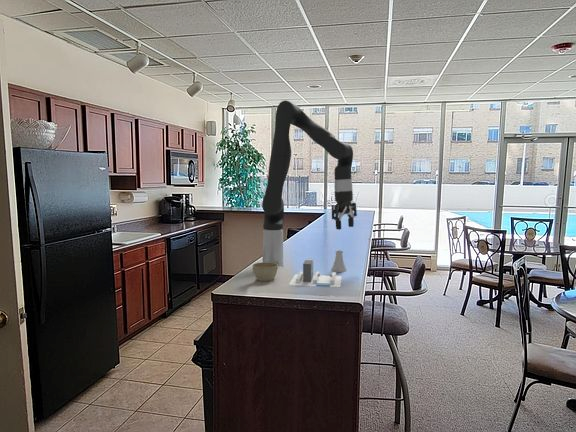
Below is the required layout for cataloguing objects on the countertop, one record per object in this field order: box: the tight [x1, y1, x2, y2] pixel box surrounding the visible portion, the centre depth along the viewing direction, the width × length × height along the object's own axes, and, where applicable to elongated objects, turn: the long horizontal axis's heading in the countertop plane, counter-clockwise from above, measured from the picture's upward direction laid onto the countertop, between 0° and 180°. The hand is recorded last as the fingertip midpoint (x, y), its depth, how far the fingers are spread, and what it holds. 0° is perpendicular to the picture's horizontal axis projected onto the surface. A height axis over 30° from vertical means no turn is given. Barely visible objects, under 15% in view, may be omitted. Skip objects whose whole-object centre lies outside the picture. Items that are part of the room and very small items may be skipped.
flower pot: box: [252, 261, 279, 282], centre depth 155 cm, size 10×10×7 cm
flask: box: [330, 249, 348, 273], centre depth 169 cm, size 7×7×10 cm
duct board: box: [288, 270, 342, 288], centre depth 153 cm, size 19×16×4 cm
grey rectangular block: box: [302, 258, 314, 282], centre depth 155 cm, size 3×9×7 cm, turn 170°
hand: (345, 228), depth 169 cm, fingers open, 8 cm apart
